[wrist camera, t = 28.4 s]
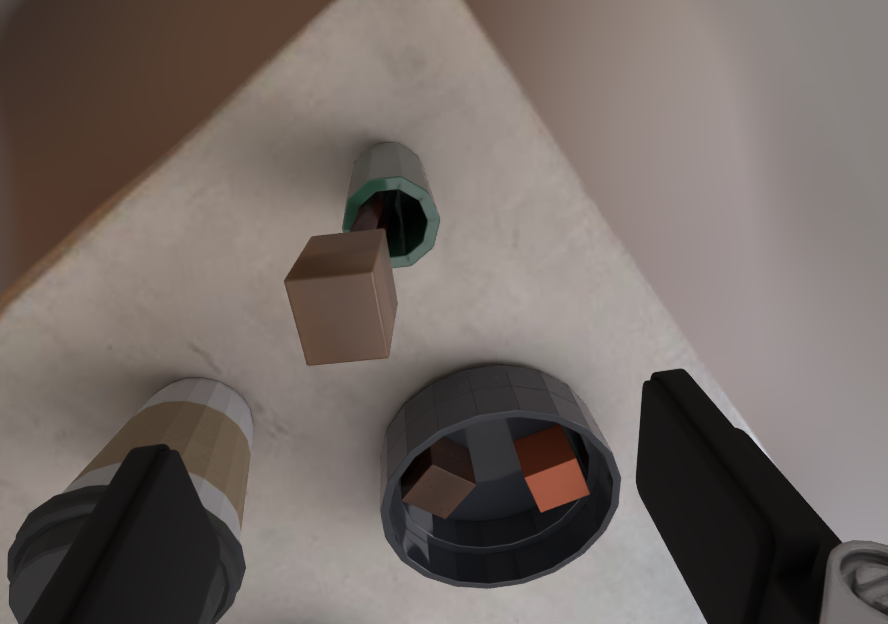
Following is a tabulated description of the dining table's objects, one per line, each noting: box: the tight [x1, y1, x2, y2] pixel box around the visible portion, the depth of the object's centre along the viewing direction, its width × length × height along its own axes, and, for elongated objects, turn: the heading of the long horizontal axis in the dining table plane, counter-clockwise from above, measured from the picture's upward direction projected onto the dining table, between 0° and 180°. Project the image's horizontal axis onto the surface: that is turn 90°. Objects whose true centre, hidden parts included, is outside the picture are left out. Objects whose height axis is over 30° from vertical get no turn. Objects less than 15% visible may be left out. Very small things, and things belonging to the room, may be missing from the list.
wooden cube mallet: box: [284, 190, 398, 366], centre depth 25 cm, size 3×3×18 cm
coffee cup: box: [7, 378, 254, 624], centre depth 33 cm, size 11×11×15 cm
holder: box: [342, 142, 440, 268], centre depth 29 cm, size 4×5×9 cm
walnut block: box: [400, 436, 477, 519], centre depth 41 cm, size 4×4×4 cm
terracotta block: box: [513, 424, 590, 512], centre depth 42 cm, size 4×4×4 cm
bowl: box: [380, 365, 621, 589], centre depth 42 cm, size 17×17×6 cm
